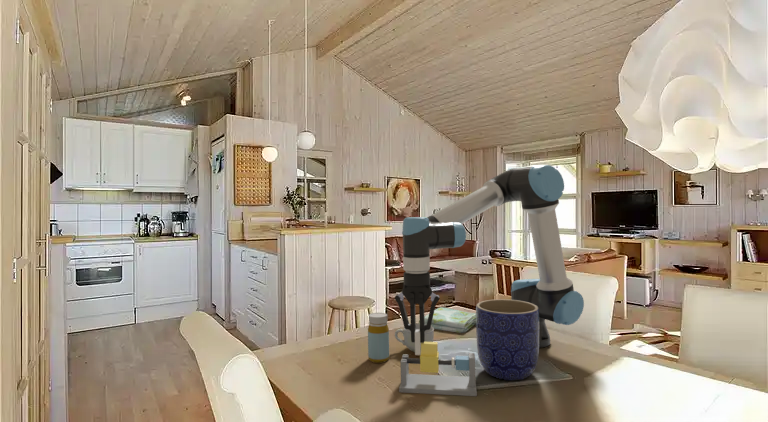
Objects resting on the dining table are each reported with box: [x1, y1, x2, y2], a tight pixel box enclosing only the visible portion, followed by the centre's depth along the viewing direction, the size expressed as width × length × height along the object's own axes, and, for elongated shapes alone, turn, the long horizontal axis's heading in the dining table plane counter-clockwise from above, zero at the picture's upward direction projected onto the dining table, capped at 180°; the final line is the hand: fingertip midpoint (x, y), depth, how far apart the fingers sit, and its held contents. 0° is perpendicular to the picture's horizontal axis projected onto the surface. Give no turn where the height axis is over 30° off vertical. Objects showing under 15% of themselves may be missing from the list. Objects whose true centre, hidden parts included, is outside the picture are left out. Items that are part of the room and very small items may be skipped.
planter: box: [475, 298, 540, 381], centre depth 132 cm, size 18×18×21 cm
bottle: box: [367, 312, 390, 364], centre depth 146 cm, size 7×7×15 cm
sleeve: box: [419, 341, 440, 374], centre depth 124 cm, size 5×4×8 cm
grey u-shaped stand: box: [398, 352, 478, 397], centre depth 124 cm, size 21×10×9 cm, turn 81°
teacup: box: [394, 322, 435, 353], centre depth 155 cm, size 14×11×8 cm
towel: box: [418, 307, 476, 334], centre depth 185 cm, size 18×21×5 cm
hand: (418, 353), depth 125 cm, fingers closed
